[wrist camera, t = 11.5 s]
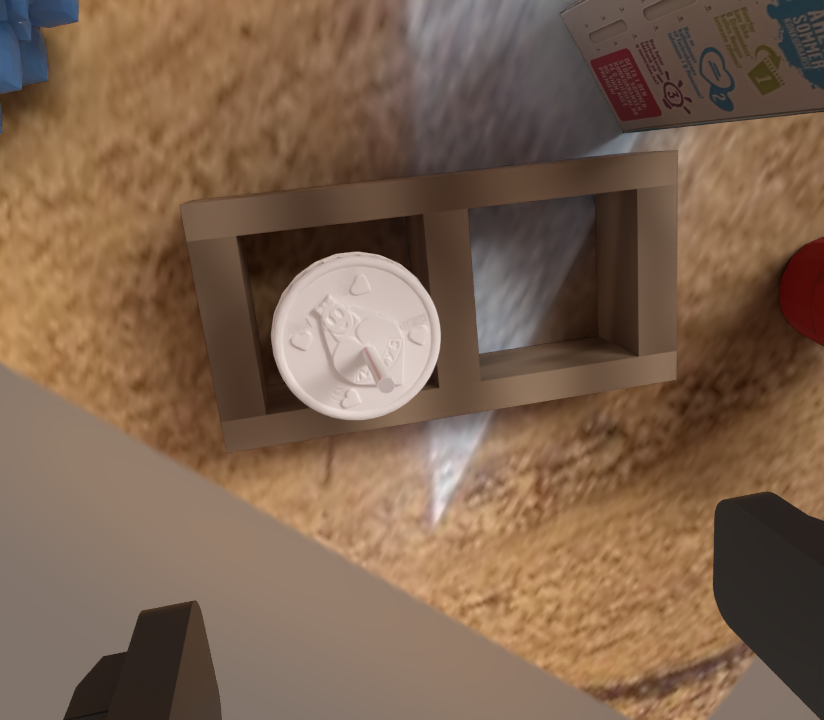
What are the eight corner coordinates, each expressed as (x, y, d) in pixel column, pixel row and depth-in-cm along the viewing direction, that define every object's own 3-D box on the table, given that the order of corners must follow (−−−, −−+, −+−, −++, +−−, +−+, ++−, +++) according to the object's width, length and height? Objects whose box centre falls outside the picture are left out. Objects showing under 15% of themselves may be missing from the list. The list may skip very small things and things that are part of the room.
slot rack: (629, 152, 36) (677, 150, 32) (632, 356, 39) (676, 379, 35) (192, 200, 33) (179, 204, 28) (232, 419, 36) (226, 453, 31)
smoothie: (335, 382, 36) (369, 506, 23) (244, 294, 34) (224, 374, 21) (425, 297, 36) (513, 372, 23) (339, 204, 34) (379, 225, 21)
